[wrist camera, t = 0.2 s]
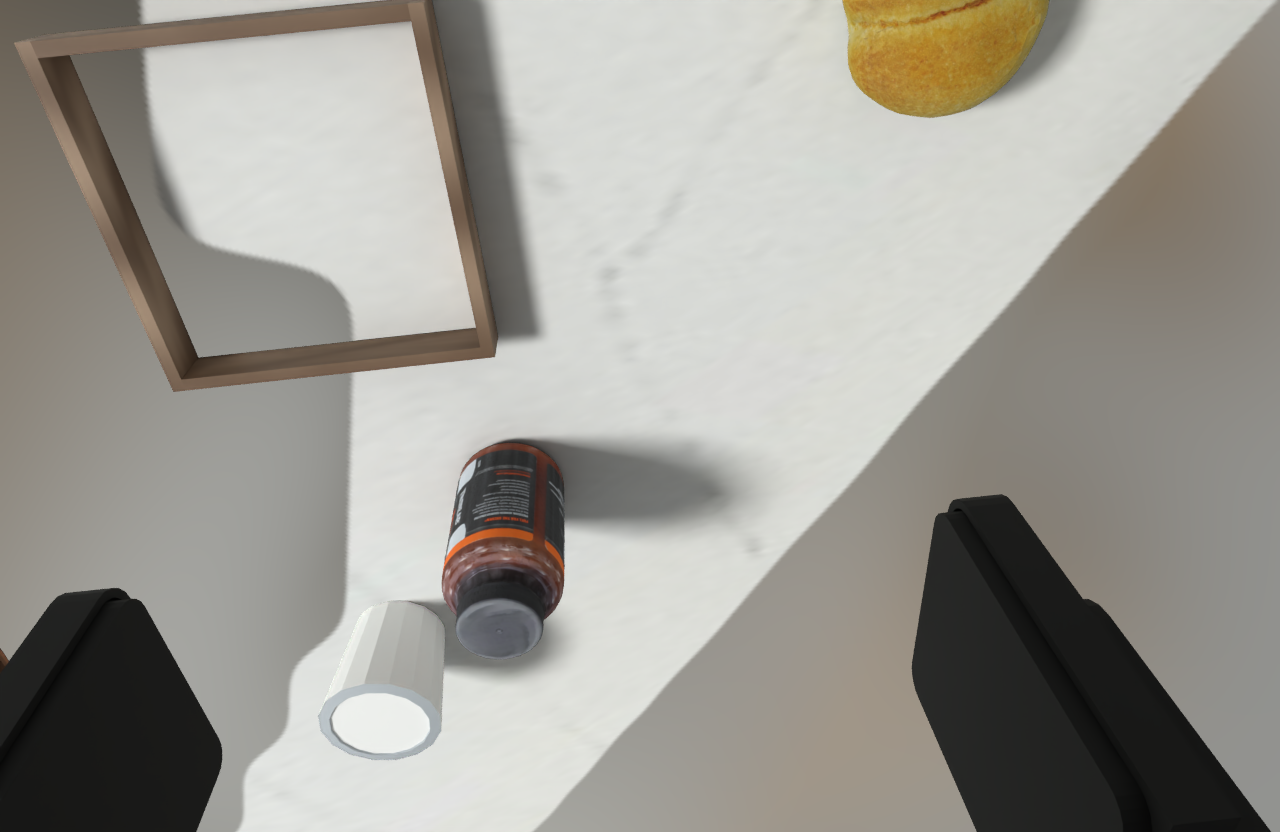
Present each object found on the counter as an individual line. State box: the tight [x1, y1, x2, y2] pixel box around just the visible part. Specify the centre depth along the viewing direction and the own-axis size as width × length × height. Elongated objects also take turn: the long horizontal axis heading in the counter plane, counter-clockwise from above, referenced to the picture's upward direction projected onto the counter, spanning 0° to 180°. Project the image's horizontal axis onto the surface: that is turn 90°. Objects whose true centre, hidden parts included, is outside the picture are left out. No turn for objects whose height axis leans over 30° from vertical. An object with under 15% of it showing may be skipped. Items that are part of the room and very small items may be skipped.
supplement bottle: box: [442, 443, 565, 659], centre depth 42 cm, size 6×6×11 cm
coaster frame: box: [14, 0, 498, 392], centre depth 37 cm, size 16×16×2 cm
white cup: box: [318, 601, 445, 760], centre depth 50 cm, size 7×7×7 cm
